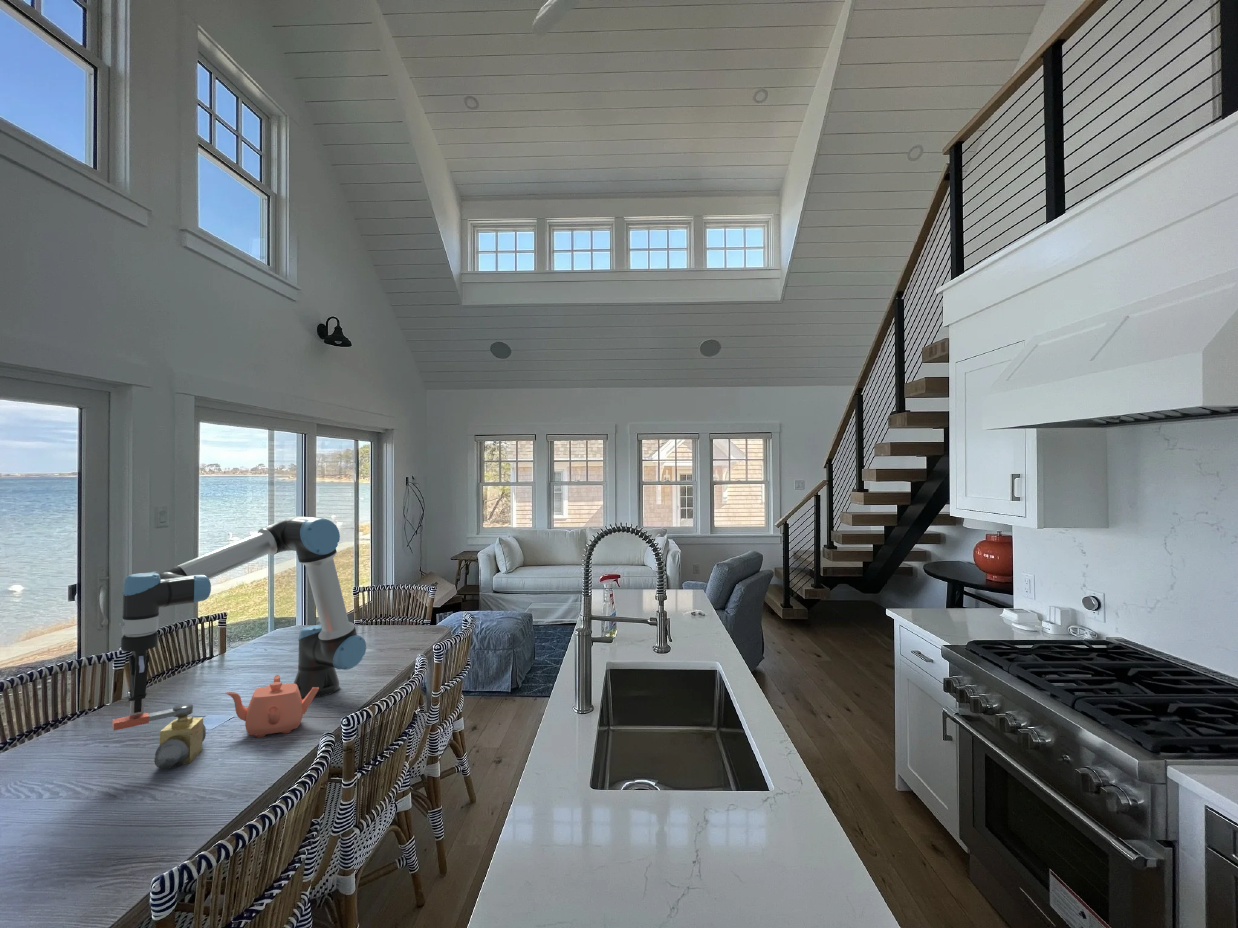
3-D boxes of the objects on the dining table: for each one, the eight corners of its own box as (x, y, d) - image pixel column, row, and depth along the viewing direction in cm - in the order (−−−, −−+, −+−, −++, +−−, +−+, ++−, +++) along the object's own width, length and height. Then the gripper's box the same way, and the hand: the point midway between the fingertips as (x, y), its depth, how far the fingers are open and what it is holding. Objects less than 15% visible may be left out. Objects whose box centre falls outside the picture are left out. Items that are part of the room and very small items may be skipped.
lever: (190, 709, 165) (191, 702, 165) (194, 713, 162) (194, 706, 162) (111, 725, 153) (112, 718, 153) (113, 731, 150) (114, 723, 150)
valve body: (180, 744, 169) (182, 703, 169) (209, 742, 171) (211, 701, 171) (148, 775, 152) (150, 729, 152) (181, 771, 154) (183, 726, 154)
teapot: (222, 737, 174) (224, 689, 175) (275, 714, 192) (277, 670, 192) (271, 746, 169) (273, 697, 169) (321, 721, 187) (323, 677, 187)
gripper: (118, 630, 159) (115, 719, 158) (124, 640, 150) (120, 735, 149) (154, 625, 164) (151, 712, 164) (161, 635, 155) (158, 727, 155)
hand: (136, 723), depth 156 cm, fingers closed
